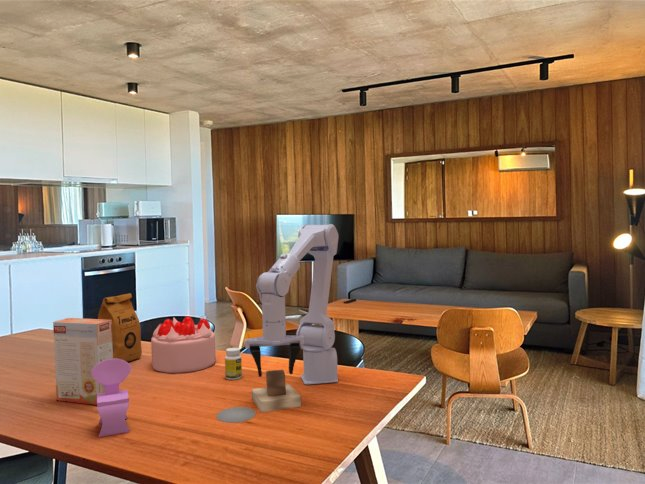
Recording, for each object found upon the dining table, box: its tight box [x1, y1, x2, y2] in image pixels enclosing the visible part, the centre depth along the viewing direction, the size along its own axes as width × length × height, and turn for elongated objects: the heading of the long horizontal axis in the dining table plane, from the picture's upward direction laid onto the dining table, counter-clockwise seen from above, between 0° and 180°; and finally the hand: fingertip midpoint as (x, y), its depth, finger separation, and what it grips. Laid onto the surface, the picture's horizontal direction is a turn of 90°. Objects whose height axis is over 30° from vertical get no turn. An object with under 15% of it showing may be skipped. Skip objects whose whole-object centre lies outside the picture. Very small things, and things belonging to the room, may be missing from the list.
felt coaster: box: [216, 406, 256, 424], centre depth 121 cm, size 9×9×1 cm
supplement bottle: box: [224, 347, 243, 381], centre depth 150 cm, size 5×5×8 cm
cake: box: [150, 315, 217, 374], centre depth 164 cm, size 20×20×14 cm
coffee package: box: [97, 292, 143, 363], centre depth 169 cm, size 10×12×22 cm
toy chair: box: [91, 359, 132, 438], centre depth 115 cm, size 8×9×15 cm
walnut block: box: [265, 369, 287, 396], centre depth 129 cm, size 4×4×5 cm
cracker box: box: [52, 317, 113, 406], centre depth 133 cm, size 14×6×21 cm, turn 71°
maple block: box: [251, 383, 302, 413], centre depth 129 cm, size 10×10×3 cm
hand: (275, 374), depth 129 cm, fingers open, 7 cm apart
